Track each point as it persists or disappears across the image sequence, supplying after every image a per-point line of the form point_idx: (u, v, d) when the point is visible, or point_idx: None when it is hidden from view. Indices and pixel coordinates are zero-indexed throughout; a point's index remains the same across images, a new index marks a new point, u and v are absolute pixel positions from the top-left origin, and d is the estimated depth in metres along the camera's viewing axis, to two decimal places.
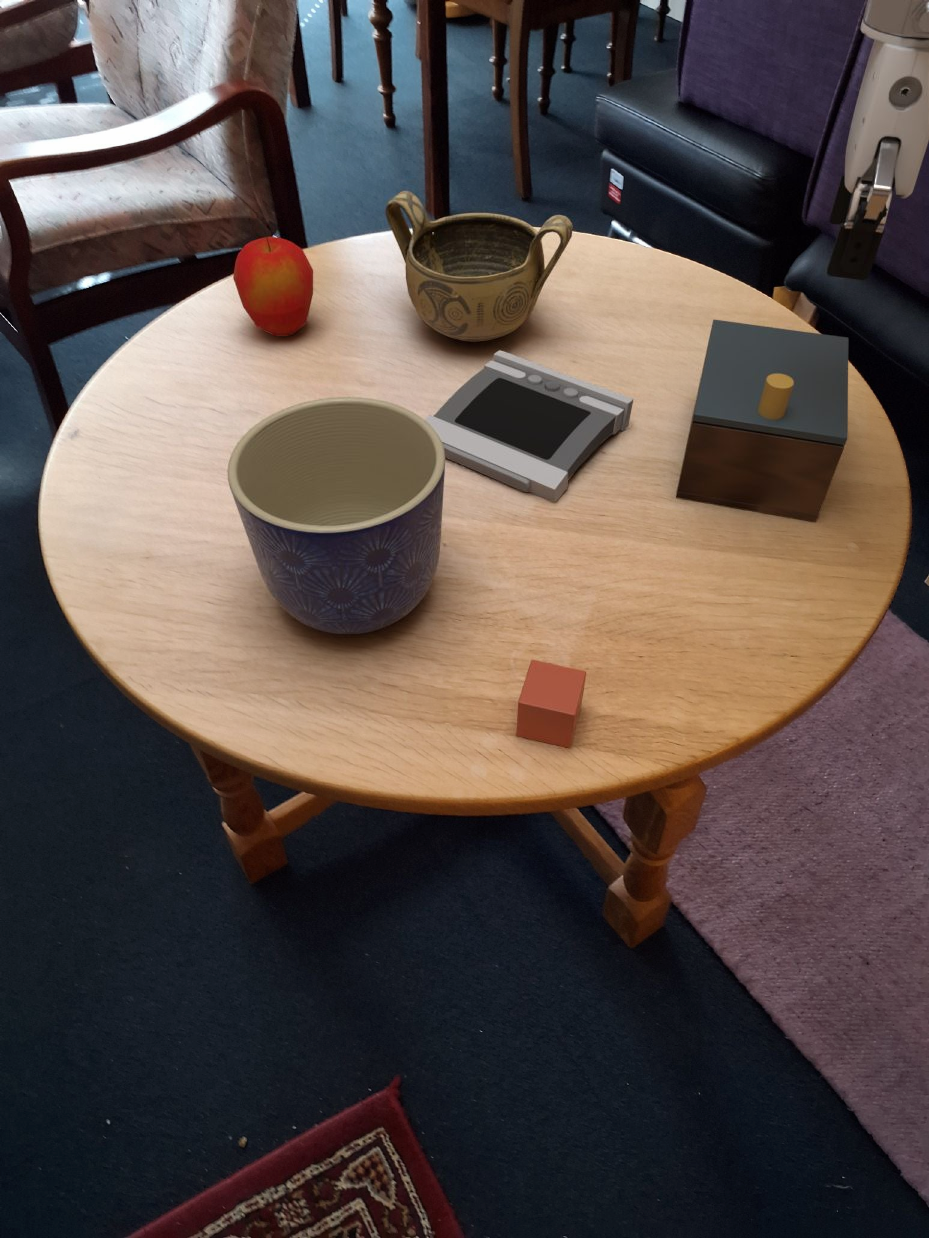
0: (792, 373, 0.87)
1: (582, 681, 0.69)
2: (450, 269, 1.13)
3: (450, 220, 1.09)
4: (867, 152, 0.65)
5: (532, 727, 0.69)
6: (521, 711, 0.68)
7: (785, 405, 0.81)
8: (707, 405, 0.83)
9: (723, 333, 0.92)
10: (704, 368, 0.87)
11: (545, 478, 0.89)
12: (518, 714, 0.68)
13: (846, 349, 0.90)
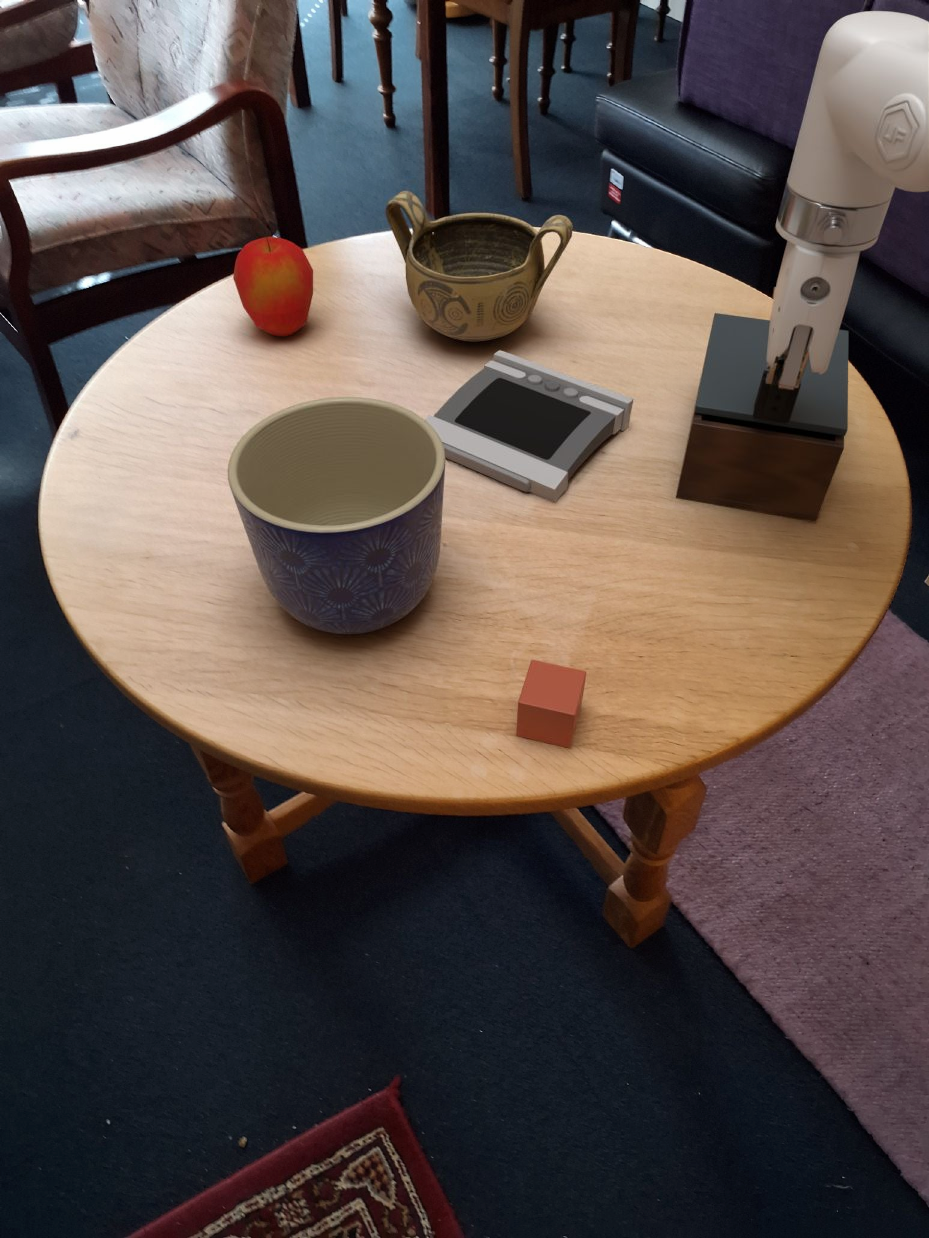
0: None
1: (582, 681, 0.69)
2: (450, 269, 1.13)
3: (450, 220, 1.09)
4: (783, 337, 0.70)
5: (532, 727, 0.69)
6: (521, 711, 0.68)
7: None
8: (708, 397, 0.84)
9: (725, 326, 0.93)
10: (706, 361, 0.88)
11: (545, 478, 0.89)
12: (518, 714, 0.68)
13: (846, 342, 0.90)
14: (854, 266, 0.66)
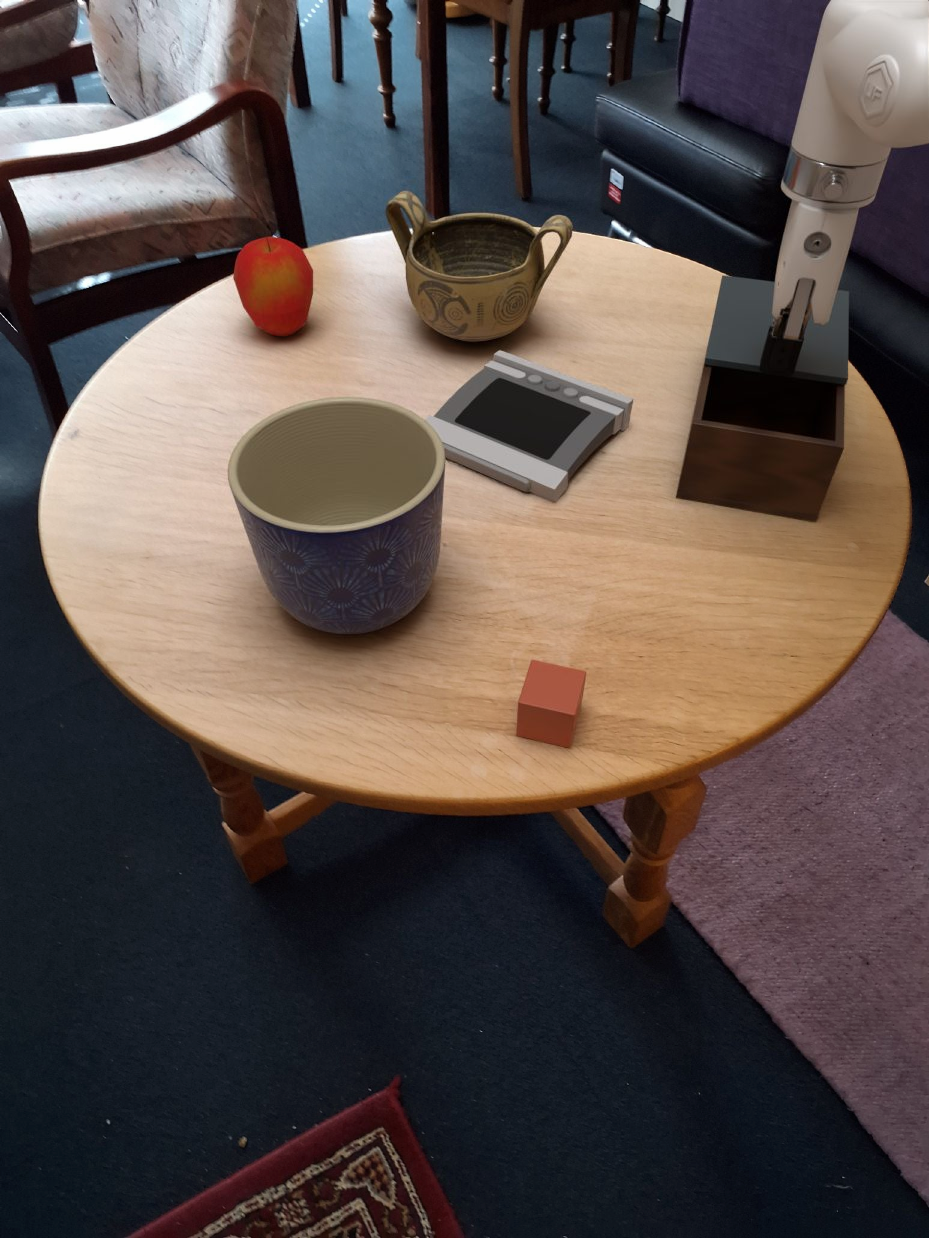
0: None
1: (582, 681, 0.69)
2: (450, 269, 1.13)
3: (450, 220, 1.09)
4: (788, 289, 0.76)
5: (532, 727, 0.69)
6: (521, 711, 0.68)
7: None
8: (717, 350, 0.90)
9: (732, 287, 0.98)
10: (714, 318, 0.94)
11: (545, 478, 0.89)
12: (518, 714, 0.68)
13: (847, 301, 0.96)
14: (853, 221, 0.71)
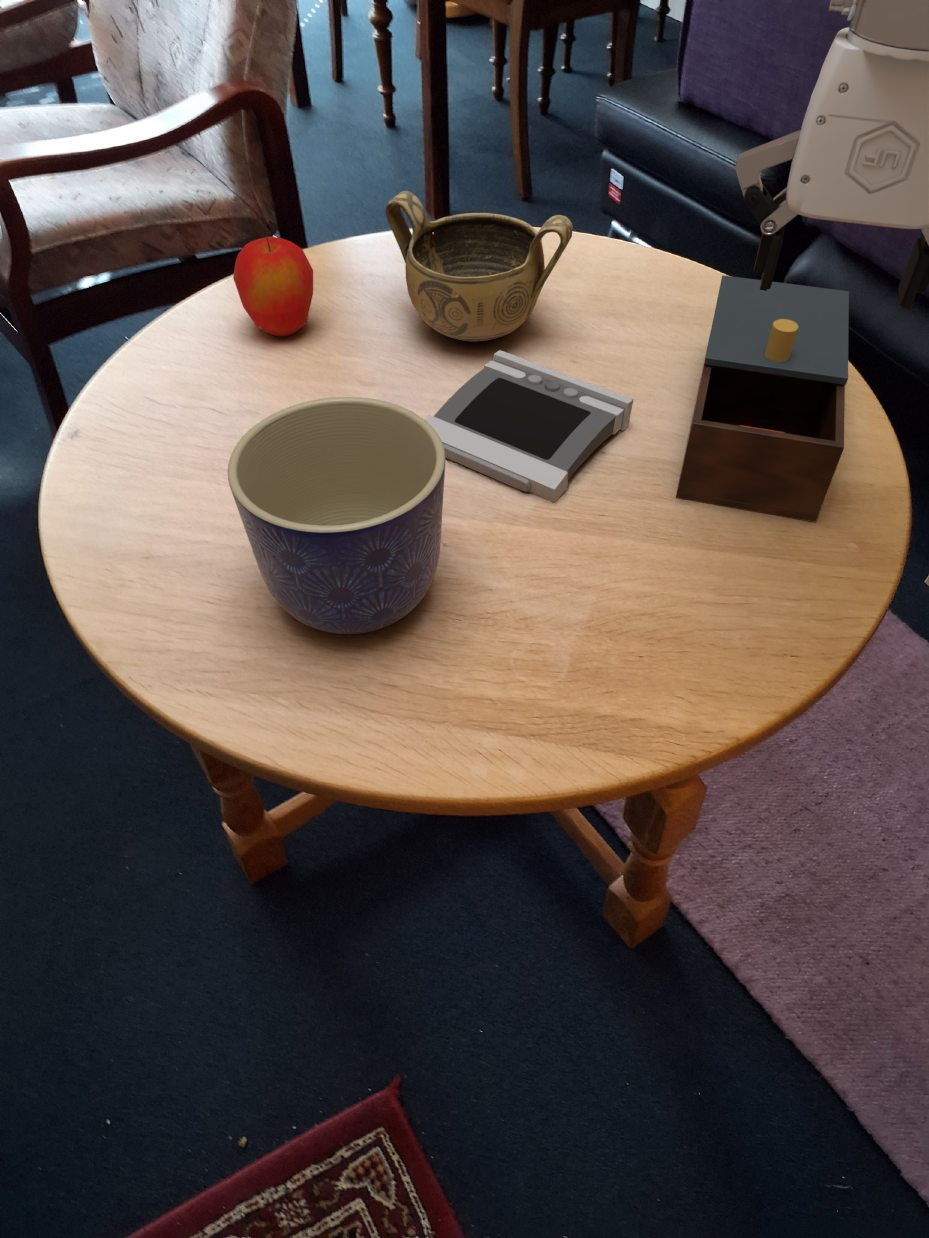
0: (796, 322, 0.93)
1: None
2: (450, 269, 1.13)
3: (450, 220, 1.09)
4: None
5: None
6: None
7: (790, 348, 0.87)
8: (717, 350, 0.90)
9: (732, 287, 0.98)
10: (714, 318, 0.94)
11: (545, 478, 0.89)
12: None
13: (847, 301, 0.96)
14: (839, 60, 0.53)
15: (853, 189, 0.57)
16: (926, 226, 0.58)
